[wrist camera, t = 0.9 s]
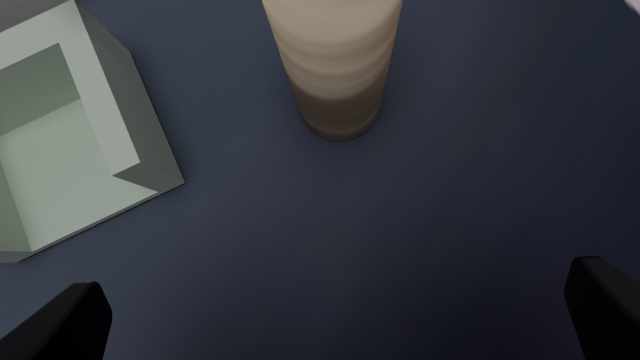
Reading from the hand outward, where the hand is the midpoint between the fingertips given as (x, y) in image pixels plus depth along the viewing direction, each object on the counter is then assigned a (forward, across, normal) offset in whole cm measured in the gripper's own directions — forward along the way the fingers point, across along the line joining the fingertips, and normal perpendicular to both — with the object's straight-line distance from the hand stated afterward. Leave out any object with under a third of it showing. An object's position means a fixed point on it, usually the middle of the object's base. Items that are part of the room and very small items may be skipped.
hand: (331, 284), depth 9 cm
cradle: (+14, +13, +4) cm, 19 cm away
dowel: (+15, 0, +3) cm, 15 cm away
